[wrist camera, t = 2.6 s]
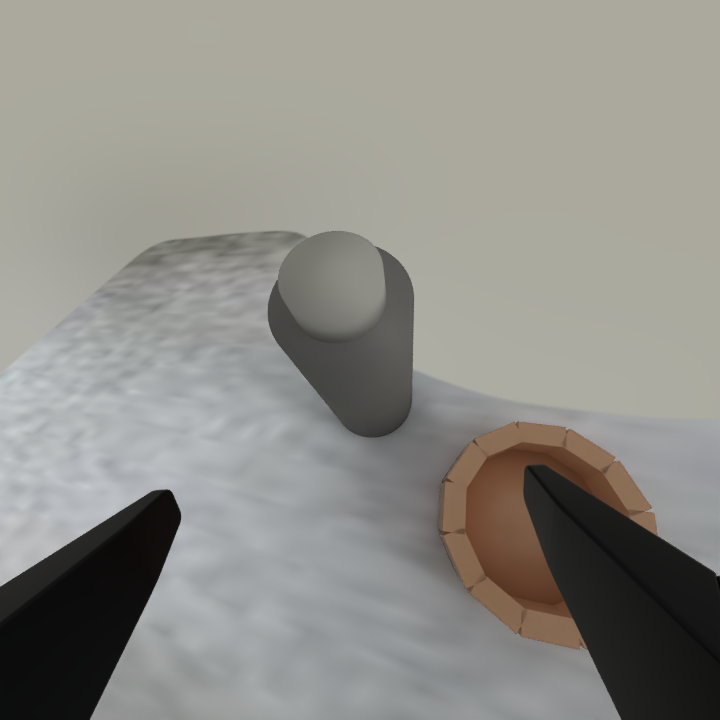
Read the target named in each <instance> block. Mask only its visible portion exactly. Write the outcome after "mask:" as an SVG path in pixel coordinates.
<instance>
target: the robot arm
mask: <svg viewBox="0 0 720 720" xmlns="http://www.w3.org/2000/svg"><path fill="white" fill-rule="evenodd" d="M523 496H524V501H525V504H526V507H527V510H528V512H529V515H530V518H531V521H532V524H533V526H534V529H535V532H536V535H537V537H538V540H539V543H540V546H541V549H542V551H543V554H544V557H545V559H546V562H547V565H548V567H549V569H550V572H551V574H552V576H553V578H554V580H555V582H556V585H557V587H558V589H559V591H560V593H561V595H562V597H563V599H564V601H565V603H566V605H567V607H568V609H569V612H570V614H571V616H572V618H573V620H574V622H575V624H576V626H577V628H578V630H579V632H580V634H581V637H582V639H583V641H584V643H585V645H586V647H587V649H588V651H589V653H590V655H591V657H592V659H593V661H594V664H595V666H596V668H597V670H598V672H599V674H600V676H601V678H602V680H603V682H604V684H605V686H606V688H607V691H608V693H609V695H610V697H611V699H612V701H613V703H614V705H615V707H616V709H617V711H618V713H619V715H620V718H621V720H720V576H716V573H715V572H714V571H712V570H710V569H709V568H707V567H706V566H704V565H703V564H701V563H699V562H698V561H696V560H695V559H693V558H692V557H690V556H688V555H687V554H685V553H684V552H682V551H680V550H679V549H677V548H676V547H674V546H673V545H671V544H669V543H668V542H666V541H665V540H663V539H662V538H660V537H658V536H657V535H655V534H654V533H652V532H651V531H649V530H647V529H646V528H644V527H643V526H641V525H639V524H638V523H636V522H635V521H633V520H632V519H630V518H628V517H627V516H625V515H624V514H622V513H621V512H619V511H617V510H616V509H614V508H613V507H611V506H610V505H608V504H606V503H605V502H603V501H602V500H600V499H598V498H597V497H595V496H594V495H592V494H591V493H589V492H587V491H586V490H584V489H583V488H581V487H580V486H578V485H576V484H575V483H573V482H572V481H570V480H569V479H567V478H565V477H564V476H562V475H561V474H559V473H557V472H556V471H554V470H553V469H551V468H550V467H548V466H546V465H544V464H533V465H527V466H526V467H525V469H524V484H523ZM180 522H181V512H180V509H179V507H178V505H177V502H176V500H175V497H174V495H173V493H172V492H171V491H170V490H167V489H166V490H155V491H152V492H150V493H149V494H147V495H145V496H144V497H142V498H141V499H139V500H137V501H136V502H134V503H133V504H131V505H129V506H128V507H126V508H125V509H123V510H122V511H120V512H118V513H117V514H115V515H114V516H112V517H110V518H109V519H107V520H106V521H104V522H102V523H101V524H99V525H98V526H96V527H95V528H93V529H91V530H90V531H88V532H87V533H85V534H83V535H82V536H80V537H79V538H77V539H75V540H74V541H72V542H71V543H69V544H67V545H66V546H64V547H63V548H61V549H60V550H58V551H56V552H55V553H53V554H52V555H50V556H48V557H47V558H45V559H44V560H42V561H40V562H39V563H37V564H36V565H34V566H33V567H31V568H29V569H28V570H26V571H25V572H23V573H21V574H20V575H18V576H17V577H15V578H13V579H12V580H10V581H9V582H7V583H6V584H4V585H2V586H1V587H0V720H90V718H91V716H92V714H93V712H94V710H95V708H96V706H97V704H98V702H99V700H100V698H101V696H102V694H103V692H104V690H105V687H106V685H107V683H108V681H109V679H110V677H111V675H112V673H113V671H114V669H115V667H116V665H117V663H118V661H119V659H120V657H121V655H122V653H123V651H124V649H125V647H126V645H127V643H128V641H129V639H130V637H131V635H132V632H133V630H134V628H135V626H136V624H137V622H138V620H139V618H140V616H141V614H142V612H143V610H144V608H145V606H146V604H147V602H148V600H149V598H150V596H151V594H152V592H153V589H154V587H155V585H156V583H157V581H158V578H159V576H160V573H161V571H162V568H163V566H164V563H165V561H166V558H167V556H168V553H169V550H170V548H171V545H172V543H173V540H174V538H175V535H176V532H177V530H178V527H179V525H180Z"/></svg>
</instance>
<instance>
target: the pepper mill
mask: <svg viewBox="0 0 720 720" xmlns="http://www.w3.org/2000/svg"><path fill="white" fill-rule="evenodd" d="M413 319H414V292H413V286H412V283H411V280H410V278H409V276H408V273H407V272H406V270H405V269H404V267H403V266H402V265H401V263H400V262H399V261H398V260H397V259H395V258H394V257H393V256H392V255H391V254H389V253H387V252H386V251H384V250H382V249H380V248H378V247H376V246H374V245H373V244H372V243H371V242H369V241H368V240H367V239H365V238H363V237H362V236H360V235H357V234H354V233H350V232H344V231H331V232H325V233H320V234H317V235H314V236H312V237H310V238H307V239H306V240H304V241H302V242H301V243H300V244H298V245H297V246H296V247H295V248H293V249H292V250H291V251H290V253H289V254H288V255H287V256H286V258H285V259H284V261H283V263H282V265H281V268H280V270H279V275H278V280H277V281H276V283H275V285H274V287H273V289H272V292H271V295H270V299H269V303H268V321H269V326H270V329H271V332H272V334H273V336H274V338H275V340H276V341H277V343H278V344H279V346H280V347H281V348H282V349H283V351H284V352H285V353H286V354H287V355H288V357H289V358H290V359H291V360H292V362H293V363H294V364H295V365H296V367H297V368H298V369H299V370H300V372H301V373H302V374H303V375H304V377H305V378H306V379H307V380H308V381H309V383H310V384H311V385H312V386H313V388H314V389H315V390H316V391H317V393H318V394H319V395H320V396H321V398H322V399H323V400H324V401H325V403H326V404H327V405H328V406H329V407H330V409H331V410H332V411H333V412H334V414H335V415H336V416H337V417H338V419H339V420H340V421H341V422H342V424H343V425H344V426H345V427H346V428H347V429H349V430H350V431H352V432H353V433H355V434H358V435H360V436H365V437H380V436H384V435H387V434H389V433H391V432H393V431H394V430H396V429H397V428H398V427H400V426H401V425H402V423H403V422H404V421H405V419H406V418H407V416H408V414H409V412H410V409H411V404H412V370H413V321H414V320H413Z"/></svg>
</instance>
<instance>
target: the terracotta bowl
mask: <svg viewBox="0 0 720 720" xmlns="http://www.w3.org/2000/svg"><path fill="white" fill-rule="evenodd" d="M614 459H615V456H613V455H611V454H610V453H608V452H607V451H605V450H603V449H602V448H600V447H599V446H597V445H595V444H594V443H592V442H591V441H589V440H587V439H586V438H584V437H582V436H581V435H579V434H578V433H576V432H574V431H573V430H571V429H569V430H567V431H566V427H560V426H551V425H542V424H534V423H525V422H517V423H516V424H515V423H511V424H509V425H507V426H504V427H502V428H499V429H497V430H495V431H492V432H490V433H488V434H485V435H483V436H480V437H478V438H476V439H474V440H473V441H471V443H470V444H469V445H468V446H467V447H466V448H465V449H464V450H463V451H462V453H461V454H460V456H459V457H458V459H457V460H456V461H455V463H454V464H453V466H452V467H451V469H450V470H449V472H448V473H447V475H446V476H445V478H444V479H443V480H442V482H443V484H441V486H440V501H439V517H438V528H439V529H441V531H439V534H440V536H441V539H442V541H443V543H444V546H445V548H446V550H447V552H448V555H449V557H450V559H451V562H452V564H453V566H454V569H455V571H456V573H457V576H458V577H459V579H460V580H461V582H462V583H463V585H464V586H465V587H466V589H467V590H468V592H469V593H470V594H471V595H472V596H473V597H475V598H476V599H477V600H478V601H479V602H480V603H481V604H483V605H484V606H485V607H486V608H487V609H488V610H489V611H491V612H492V613H493V614H494V615H495V616H496V617H498V618H499V619H500V620H501V621H502V622H503V623H504V624H506V625H507V626H508V627H509V628H510V629H511V630H512V631H514V632H515V633H516V634H517V632H518V633H519V634H520V635H521V637H525V638H529V639H534V640H538V641H543V642H547V643H552V644H556V645H561V646H565V647H570V648H574V649H579V650H580V645H581V646H582V647H583V648H584V649H587V647H586V645H585V643H584V641H583V639H582V637H581V634H580V632H579V630H578V628H577V626H576V624H575V622H574V620H573V618H572V616H571V614H570V612H569V609H568V607H567V605H566V603H565V601H564V599H563V597H562V595H561V593H560V591H559V589H558V587H557V585H556V582H555V580H554V578H553V576H552V574H551V572H550V569H549V567H548V565H547V562H546V559H545V557H544V554H543V551H542V549H541V546H540V543H539V540H538V537H537V535H536V532H535V529H534V526H533V524H532V521H531V518H530V515H529V512H528V510H527V507H526V504H525V501H524V496H523V484H524V469H525V467H526V466H527V465H533V464H544V465H546V466H548V467H550V468H551V469H553V470H554V471H556V472H557V473H559V474H561V475H562V476H564V477H565V478H567V479H569V480H570V481H572V482H573V483H575V484H576V485H578V486H580V487H581V488H583V489H584V490H586V491H587V492H589V493H591V494H592V495H594V496H595V497H597V498H598V499H600V500H602V501H603V502H605V503H606V504H608V505H610V506H611V507H613V508H614V509H616V510H617V511H619V512H621V513H622V514H624V515H625V516H627V517H628V518H630V519H632V520H633V521H635V522H636V523H638V524H639V525H641V526H643V527H644V528H646V529H647V530H649V531H651V532H652V533H654V534H655V535H657V529H656V522H655V515H654V513H650V512H644V511H647V510H649V509H651V508H652V507H651V506H650V504H649V503H648V501H647V500H646V498H645V497H644V496H643V494H642V493H641V491H640V490H639V488H638V487H637V485H636V484H635V483H634V481H633V480H632V478H631V477H630V475H629V474H628V472H627V471H626V470H625V468H624V467H623V465H622V464H621V462H620V461H615V462H613V461H614ZM657 536H658V535H657Z"/></svg>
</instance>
